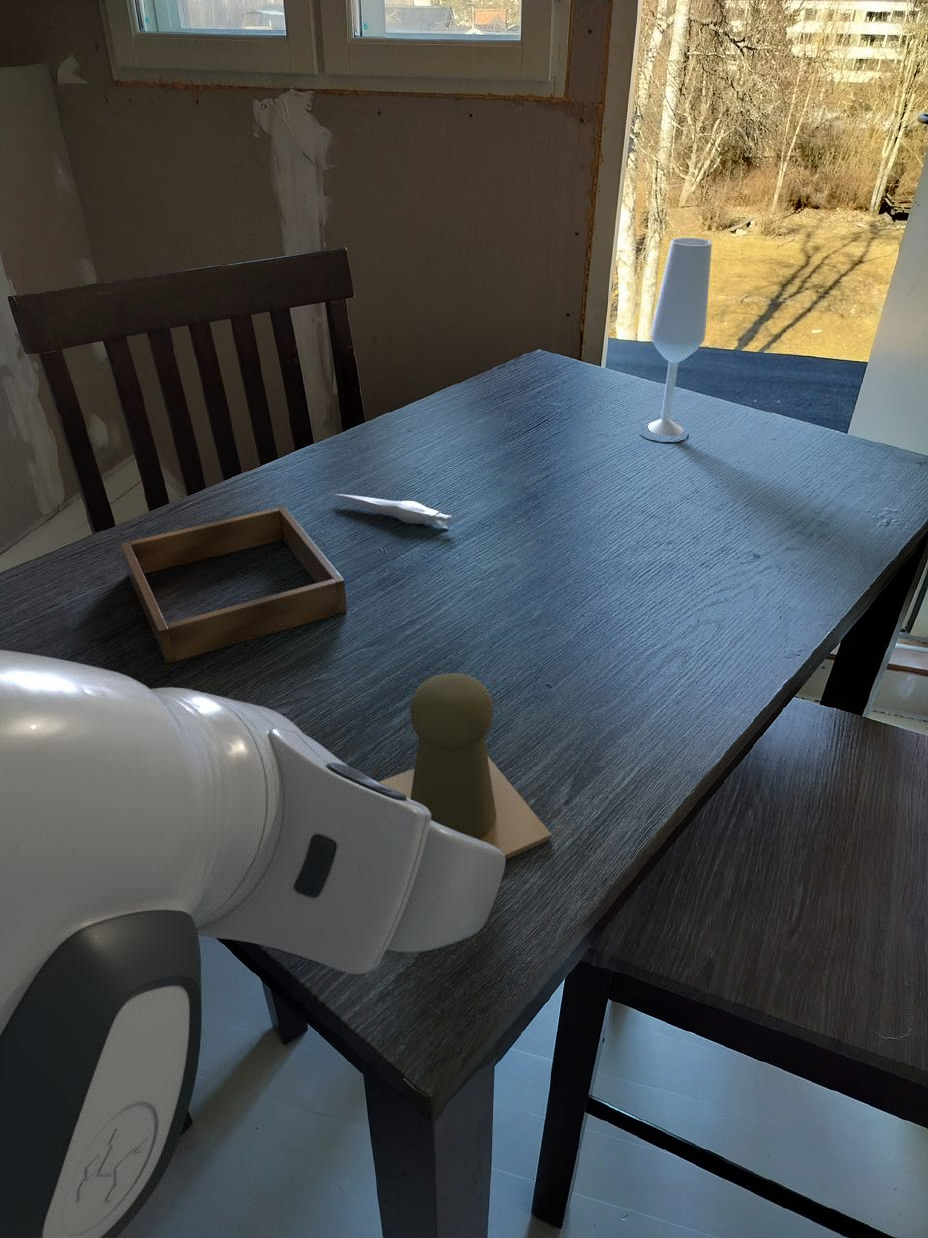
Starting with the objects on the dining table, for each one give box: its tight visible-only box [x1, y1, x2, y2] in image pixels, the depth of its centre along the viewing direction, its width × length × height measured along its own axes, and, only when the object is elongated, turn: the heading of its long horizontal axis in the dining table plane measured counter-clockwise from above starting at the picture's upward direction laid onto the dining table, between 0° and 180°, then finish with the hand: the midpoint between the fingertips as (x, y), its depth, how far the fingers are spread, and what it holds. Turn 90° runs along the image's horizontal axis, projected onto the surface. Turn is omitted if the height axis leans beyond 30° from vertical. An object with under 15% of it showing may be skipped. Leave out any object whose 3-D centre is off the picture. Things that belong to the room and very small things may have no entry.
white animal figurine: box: [334, 493, 454, 530], centre depth 94 cm, size 15×3×2 cm, turn 65°
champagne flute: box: [648, 237, 713, 436], centre depth 108 cm, size 7×7×24 cm
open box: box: [120, 505, 348, 665], centre depth 81 cm, size 17×17×4 cm
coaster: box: [378, 756, 552, 861], centre depth 59 cm, size 10×10×1 cm
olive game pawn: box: [409, 672, 496, 840], centre depth 55 cm, size 6×6×11 cm
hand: (361, 813), depth 47 cm, fingers open, 8 cm apart
